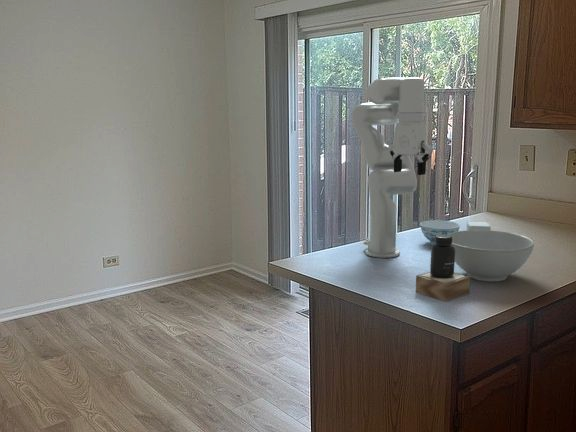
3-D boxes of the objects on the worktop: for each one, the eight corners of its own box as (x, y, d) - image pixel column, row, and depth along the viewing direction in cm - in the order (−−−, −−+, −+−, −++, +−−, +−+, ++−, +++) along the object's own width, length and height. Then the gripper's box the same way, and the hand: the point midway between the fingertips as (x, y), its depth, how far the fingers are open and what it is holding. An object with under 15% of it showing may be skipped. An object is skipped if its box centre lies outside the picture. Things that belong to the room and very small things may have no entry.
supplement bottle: (450, 280, 165) (452, 239, 162) (426, 276, 168) (428, 237, 166) (456, 274, 170) (458, 234, 168) (434, 270, 174) (435, 232, 171)
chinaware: (412, 240, 231) (413, 222, 229) (444, 237, 235) (445, 219, 234) (432, 249, 217) (433, 230, 215) (466, 246, 222) (467, 226, 220)
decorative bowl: (480, 259, 203) (482, 226, 201) (549, 278, 181) (552, 241, 179) (426, 272, 189) (427, 237, 187) (494, 295, 167) (496, 255, 165)
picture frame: (415, 291, 171) (416, 275, 170) (439, 284, 178) (439, 267, 177) (446, 301, 163) (446, 284, 162) (469, 293, 169) (470, 276, 168)
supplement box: (489, 261, 201) (491, 226, 198) (467, 260, 202) (468, 225, 200) (486, 255, 208) (488, 221, 205) (465, 255, 209) (466, 221, 207)
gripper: (381, 118, 183) (381, 171, 186) (425, 119, 169) (423, 177, 173) (397, 117, 187) (396, 169, 191) (441, 118, 174) (439, 174, 177)
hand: (409, 173), depth 182 cm, fingers open, 9 cm apart
